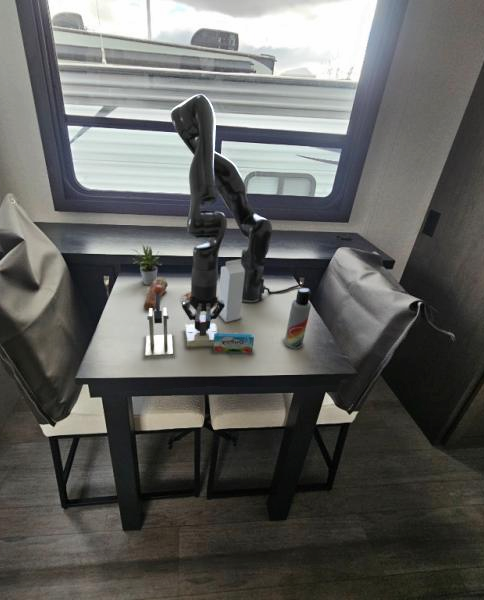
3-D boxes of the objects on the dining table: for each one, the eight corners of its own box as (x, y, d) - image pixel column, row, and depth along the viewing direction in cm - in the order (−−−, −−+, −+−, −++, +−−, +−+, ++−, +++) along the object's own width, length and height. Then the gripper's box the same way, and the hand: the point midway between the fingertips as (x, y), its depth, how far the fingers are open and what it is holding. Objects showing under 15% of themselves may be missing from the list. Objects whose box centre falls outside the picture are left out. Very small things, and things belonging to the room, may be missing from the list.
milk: (240, 319, 114) (246, 262, 104) (225, 322, 112) (230, 265, 101) (231, 310, 119) (236, 256, 108) (217, 314, 116) (221, 258, 105)
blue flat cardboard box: (213, 352, 96) (214, 336, 93) (213, 349, 98) (214, 333, 95) (251, 353, 97) (254, 337, 94) (251, 350, 98) (253, 334, 96)
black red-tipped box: (198, 327, 102) (198, 314, 100) (204, 327, 103) (204, 314, 100) (199, 335, 98) (200, 322, 96) (206, 335, 99) (206, 322, 96)
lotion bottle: (298, 351, 100) (311, 295, 90) (281, 344, 102) (292, 289, 93) (304, 342, 104) (316, 288, 94) (288, 336, 107) (298, 283, 97)
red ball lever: (152, 289, 99) (152, 283, 97) (162, 289, 100) (162, 282, 97) (152, 324, 92) (152, 318, 89) (163, 323, 92) (163, 317, 90)
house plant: (125, 278, 137) (121, 242, 129) (154, 272, 145) (153, 237, 137) (138, 291, 127) (135, 253, 120) (169, 284, 135) (168, 247, 127)
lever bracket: (146, 338, 100) (144, 303, 94) (171, 337, 102) (171, 302, 96) (145, 358, 92) (142, 321, 86) (173, 357, 93) (172, 320, 87)
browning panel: (214, 330, 107) (215, 322, 105) (219, 346, 99) (219, 338, 98) (185, 332, 105) (185, 324, 103) (187, 348, 97) (187, 340, 96)
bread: (168, 289, 131) (167, 277, 128) (155, 313, 114) (154, 299, 111) (153, 288, 131) (152, 275, 128) (138, 311, 114) (137, 298, 111)
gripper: (225, 274, 96) (221, 322, 105) (179, 275, 94) (179, 323, 102) (230, 285, 90) (225, 335, 98) (181, 286, 87) (180, 337, 96)
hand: (202, 329), depth 100 cm, fingers closed on black red-tipped box, 2 cm apart
